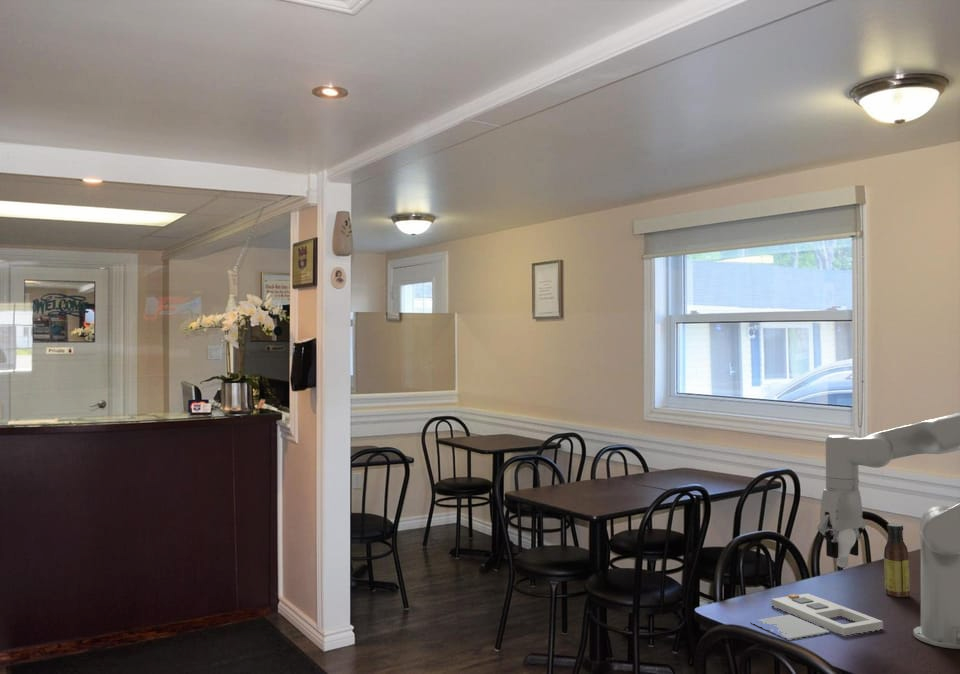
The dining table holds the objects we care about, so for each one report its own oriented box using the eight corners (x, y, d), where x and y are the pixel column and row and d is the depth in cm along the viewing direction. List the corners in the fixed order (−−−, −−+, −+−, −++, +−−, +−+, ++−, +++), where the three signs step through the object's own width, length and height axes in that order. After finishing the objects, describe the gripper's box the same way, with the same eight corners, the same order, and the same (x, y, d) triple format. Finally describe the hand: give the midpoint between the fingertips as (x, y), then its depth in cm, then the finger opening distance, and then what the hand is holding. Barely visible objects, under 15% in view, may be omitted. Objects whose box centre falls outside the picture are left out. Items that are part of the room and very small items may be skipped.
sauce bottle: (904, 591, 225) (904, 522, 226) (913, 598, 219) (913, 527, 219) (880, 591, 226) (880, 521, 226) (889, 597, 220) (889, 526, 220)
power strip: (882, 629, 195) (882, 618, 195) (844, 636, 190) (844, 625, 190) (808, 600, 217) (808, 591, 217) (771, 606, 212) (771, 596, 212)
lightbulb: (832, 562, 203) (832, 520, 203) (859, 567, 199) (859, 523, 199) (825, 567, 198) (825, 524, 198) (852, 572, 194) (852, 527, 194)
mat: (829, 633, 192) (829, 631, 192) (788, 640, 187) (788, 638, 187) (789, 616, 204) (789, 614, 204) (750, 622, 199) (750, 620, 199)
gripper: (854, 479, 206) (855, 549, 205) (804, 484, 199) (804, 555, 199) (879, 484, 199) (879, 556, 198) (828, 488, 192) (828, 563, 192)
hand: (842, 555), depth 199 cm, fingers closed on lightbulb, 6 cm apart
